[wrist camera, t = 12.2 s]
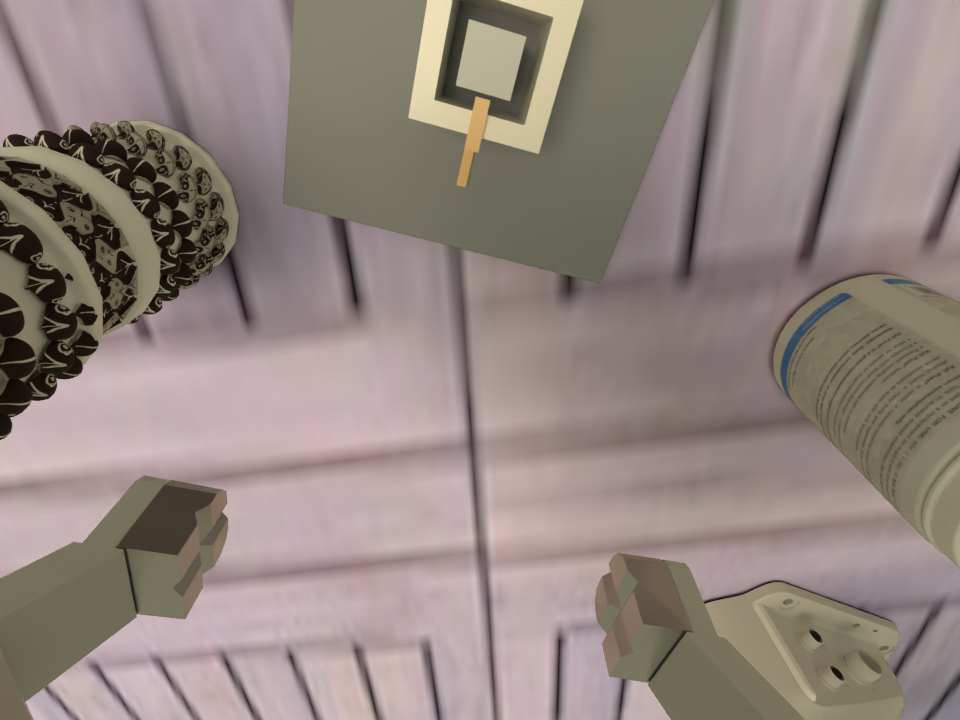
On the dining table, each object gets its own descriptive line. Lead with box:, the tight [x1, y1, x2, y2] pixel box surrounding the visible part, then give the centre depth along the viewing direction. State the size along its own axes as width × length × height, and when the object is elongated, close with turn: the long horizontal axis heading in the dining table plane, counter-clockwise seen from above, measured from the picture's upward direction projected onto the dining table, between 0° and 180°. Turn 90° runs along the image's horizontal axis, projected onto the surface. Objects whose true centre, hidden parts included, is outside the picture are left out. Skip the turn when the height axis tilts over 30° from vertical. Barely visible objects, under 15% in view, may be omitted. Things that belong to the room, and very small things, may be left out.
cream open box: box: [408, 0, 584, 154], centre depth 21 cm, size 6×6×5 cm
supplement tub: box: [773, 274, 960, 568], centre depth 26 cm, size 10×10×15 cm
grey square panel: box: [283, 0, 714, 283], centre depth 22 cm, size 18×18×6 cm
